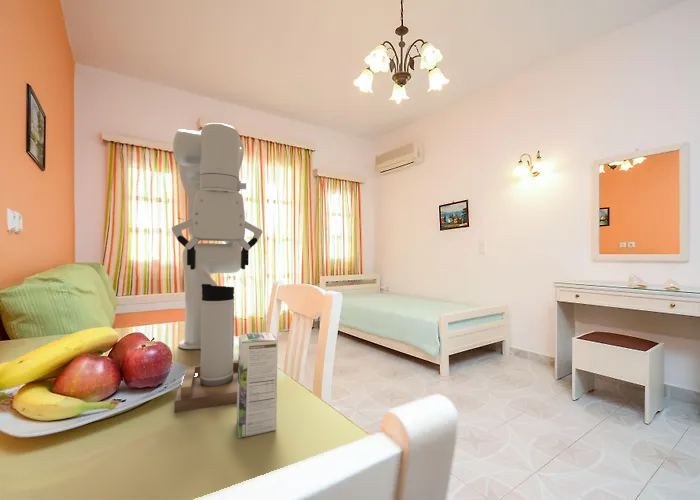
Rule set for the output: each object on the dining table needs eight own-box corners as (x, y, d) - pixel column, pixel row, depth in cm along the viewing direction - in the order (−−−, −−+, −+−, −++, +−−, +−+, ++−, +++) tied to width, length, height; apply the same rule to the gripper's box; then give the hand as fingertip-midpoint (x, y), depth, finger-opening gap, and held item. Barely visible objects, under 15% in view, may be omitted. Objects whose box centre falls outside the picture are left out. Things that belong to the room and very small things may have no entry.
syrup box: (235, 421, 54) (236, 334, 54) (271, 414, 56) (272, 331, 57) (238, 439, 49) (239, 342, 49) (278, 430, 51) (278, 338, 52)
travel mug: (191, 383, 65) (193, 283, 65) (218, 373, 71) (220, 281, 71) (213, 389, 62) (214, 285, 62) (239, 378, 68) (241, 282, 68)
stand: (182, 383, 70) (183, 365, 70) (250, 375, 75) (250, 358, 75) (174, 412, 57) (174, 390, 57) (256, 399, 62) (256, 379, 62)
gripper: (260, 192, 74) (259, 267, 74) (175, 186, 68) (174, 268, 68) (264, 187, 67) (263, 269, 67) (170, 179, 61) (168, 270, 61)
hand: (218, 269), depth 67 cm, fingers open, 9 cm apart
